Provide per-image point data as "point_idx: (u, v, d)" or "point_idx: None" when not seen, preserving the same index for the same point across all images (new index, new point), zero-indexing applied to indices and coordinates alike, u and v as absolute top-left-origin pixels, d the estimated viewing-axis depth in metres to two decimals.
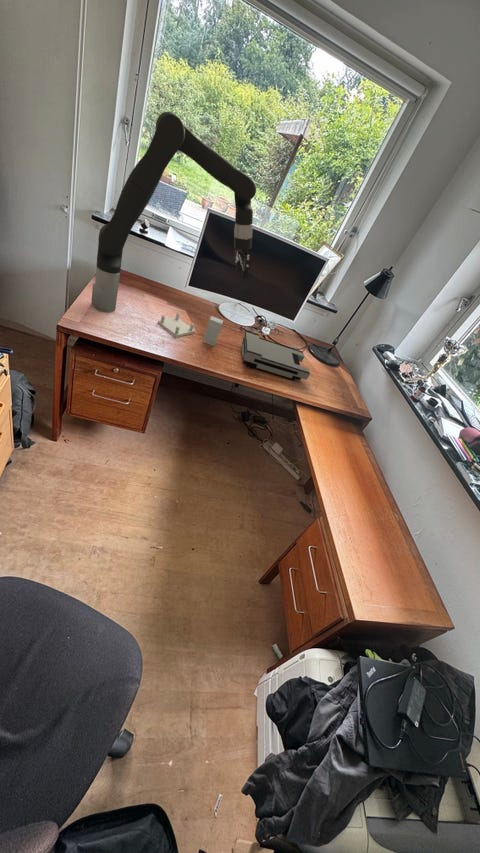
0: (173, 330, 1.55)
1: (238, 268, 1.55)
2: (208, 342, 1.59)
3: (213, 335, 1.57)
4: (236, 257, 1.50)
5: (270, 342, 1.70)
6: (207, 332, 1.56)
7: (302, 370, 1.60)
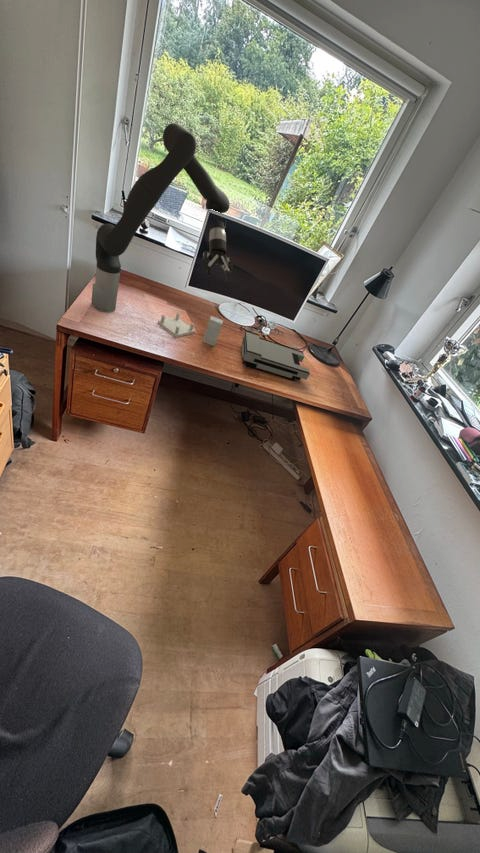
0: (173, 330, 1.55)
1: None
2: (208, 342, 1.59)
3: (213, 335, 1.57)
4: (213, 260, 1.49)
5: (270, 342, 1.70)
6: (207, 332, 1.56)
7: (302, 370, 1.60)
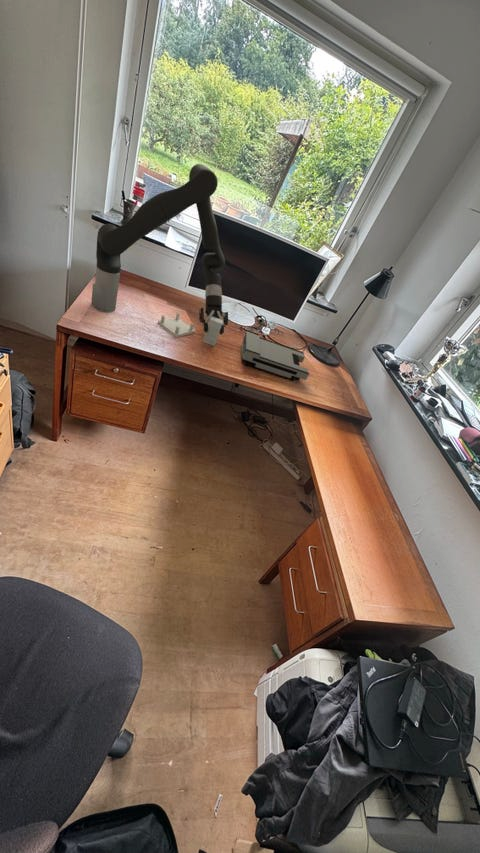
0: (173, 330, 1.55)
1: None
2: (208, 342, 1.59)
3: (213, 335, 1.57)
4: (209, 316, 1.54)
5: (270, 342, 1.70)
6: (207, 332, 1.56)
7: (301, 370, 1.60)
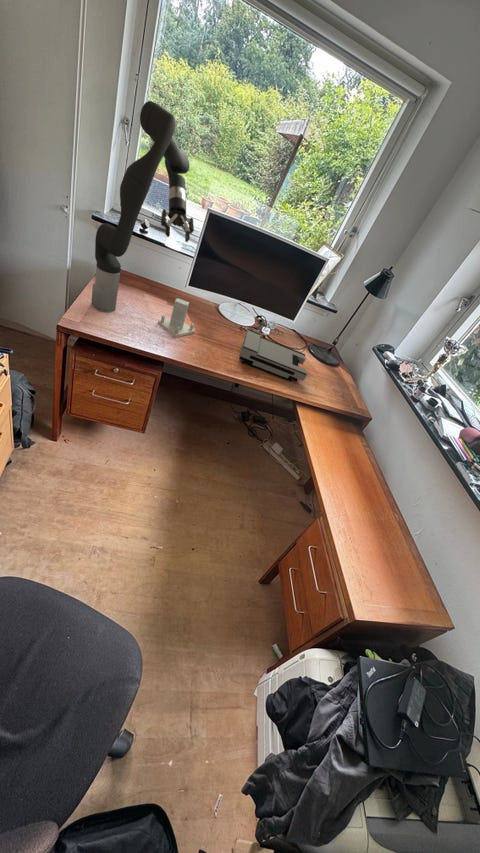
0: (173, 330, 1.55)
1: None
2: (175, 325, 1.57)
3: (180, 318, 1.55)
4: (172, 219, 1.47)
5: (271, 342, 1.70)
6: (173, 315, 1.54)
7: (299, 371, 1.58)
